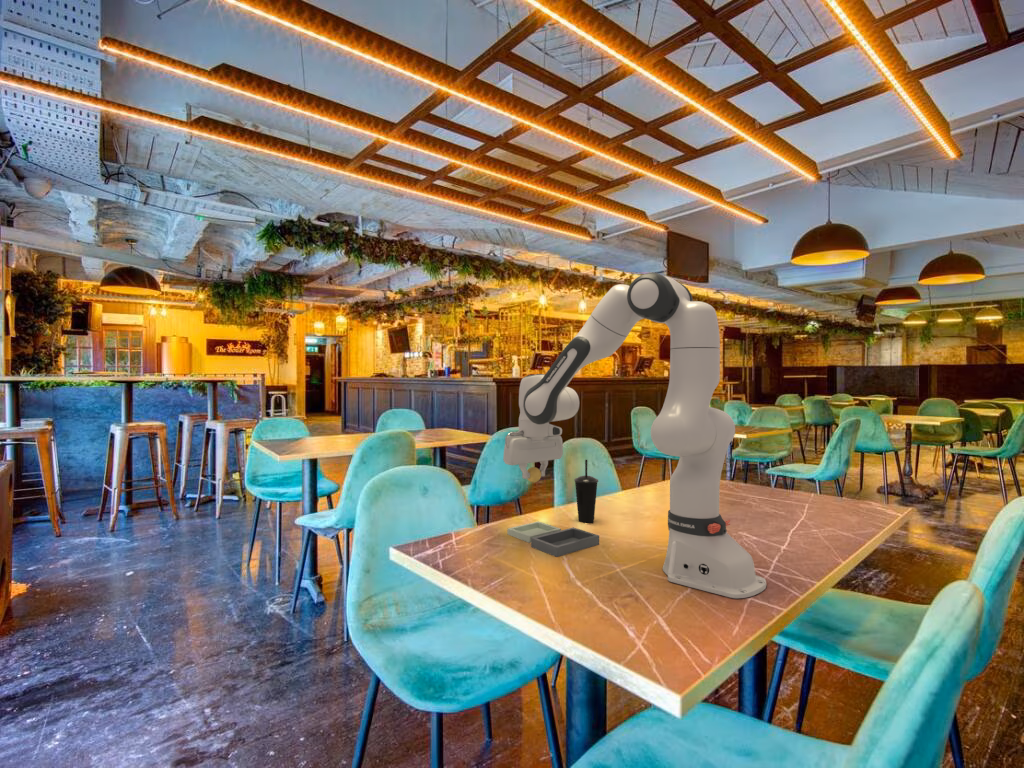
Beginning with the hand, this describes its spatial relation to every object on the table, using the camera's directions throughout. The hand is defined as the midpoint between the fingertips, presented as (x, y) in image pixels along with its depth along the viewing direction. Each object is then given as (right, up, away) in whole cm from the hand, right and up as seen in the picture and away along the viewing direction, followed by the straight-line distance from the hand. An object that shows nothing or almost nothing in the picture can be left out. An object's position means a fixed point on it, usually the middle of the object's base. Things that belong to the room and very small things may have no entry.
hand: (533, 477), depth 150 cm
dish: (+8, -17, -10) cm, 22 cm away
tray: (0, -17, 0) cm, 17 cm away
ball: (0, -2, 0) cm, 2 cm away
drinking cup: (+18, -17, +15) cm, 29 cm away
